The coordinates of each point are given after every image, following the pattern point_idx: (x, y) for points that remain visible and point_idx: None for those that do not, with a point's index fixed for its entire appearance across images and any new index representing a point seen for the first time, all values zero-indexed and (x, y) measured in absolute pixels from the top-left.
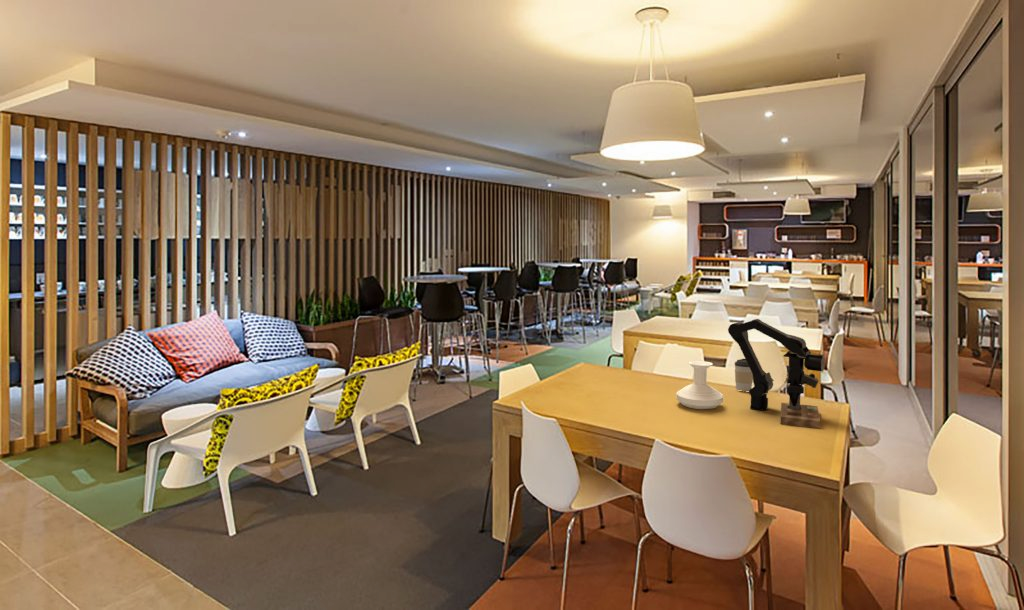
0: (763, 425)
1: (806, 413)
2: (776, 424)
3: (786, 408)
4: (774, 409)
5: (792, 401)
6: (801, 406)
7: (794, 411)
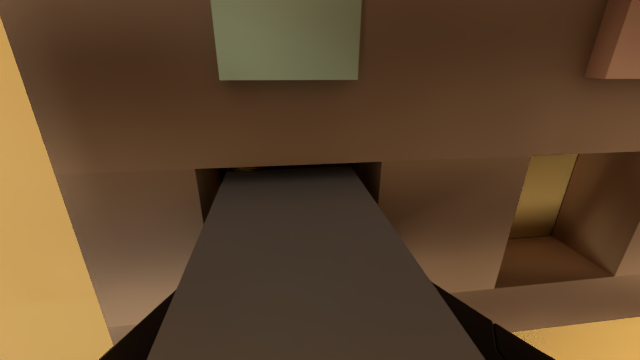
0: (624, 342)
1: (547, 94)
2: None
3: None
4: None
5: None
6: (183, 162)
7: (478, 229)
